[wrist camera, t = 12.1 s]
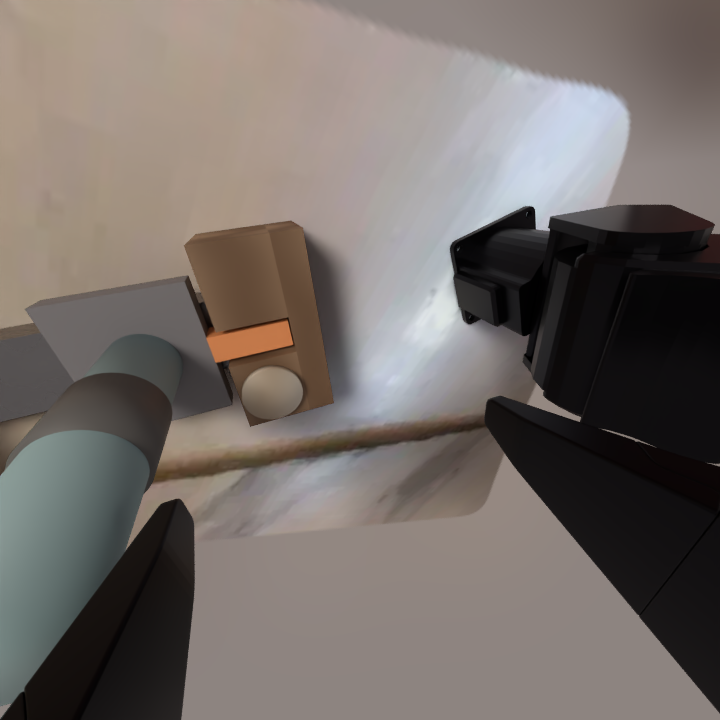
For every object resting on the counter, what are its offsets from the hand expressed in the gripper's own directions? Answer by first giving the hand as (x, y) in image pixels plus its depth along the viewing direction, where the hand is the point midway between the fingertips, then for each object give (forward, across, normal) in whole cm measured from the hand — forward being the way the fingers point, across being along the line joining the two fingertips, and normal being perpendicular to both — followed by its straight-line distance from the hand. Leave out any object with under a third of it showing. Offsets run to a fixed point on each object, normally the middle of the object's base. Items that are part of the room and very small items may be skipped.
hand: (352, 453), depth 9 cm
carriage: (+11, +7, 0) cm, 13 cm away
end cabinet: (+13, +1, 0) cm, 13 cm away
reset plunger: (+11, +3, 0) cm, 11 cm away
